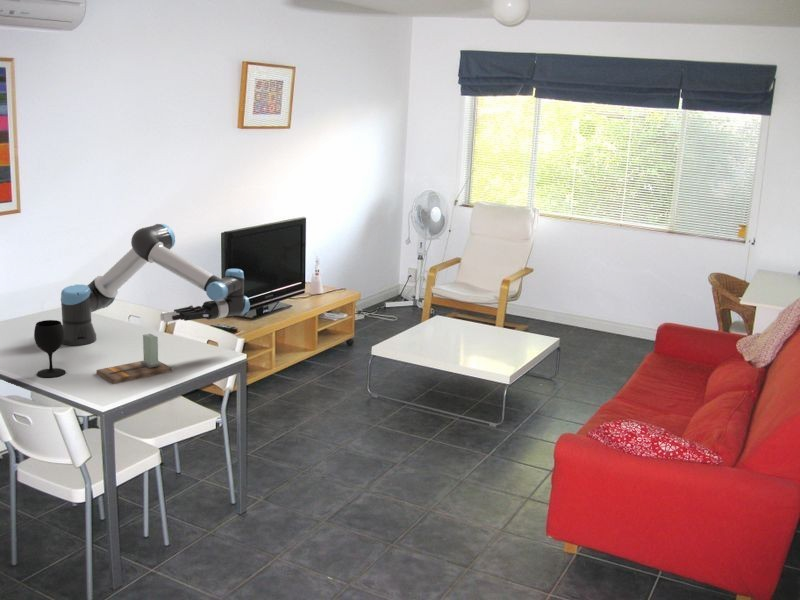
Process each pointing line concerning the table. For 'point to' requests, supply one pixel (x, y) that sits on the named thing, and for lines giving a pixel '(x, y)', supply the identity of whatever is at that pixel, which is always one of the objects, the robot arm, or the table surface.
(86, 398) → the table surface
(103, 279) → the robot arm
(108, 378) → the brown wooden board
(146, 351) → the block
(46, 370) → the wine glass
